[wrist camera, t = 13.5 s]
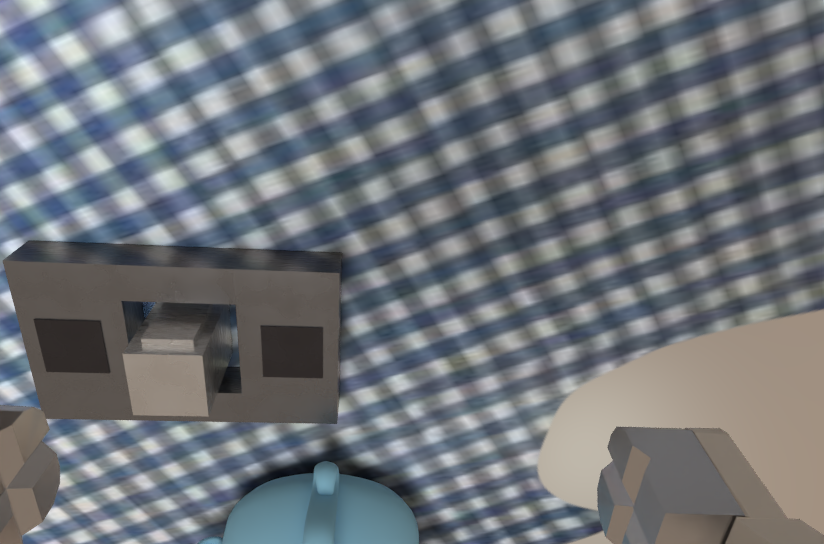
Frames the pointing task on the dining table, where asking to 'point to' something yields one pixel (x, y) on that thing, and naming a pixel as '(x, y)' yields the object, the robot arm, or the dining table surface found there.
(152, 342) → the stepped metal block
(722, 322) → the dining table surface
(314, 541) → the decorative pot
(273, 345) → the grey flat block
